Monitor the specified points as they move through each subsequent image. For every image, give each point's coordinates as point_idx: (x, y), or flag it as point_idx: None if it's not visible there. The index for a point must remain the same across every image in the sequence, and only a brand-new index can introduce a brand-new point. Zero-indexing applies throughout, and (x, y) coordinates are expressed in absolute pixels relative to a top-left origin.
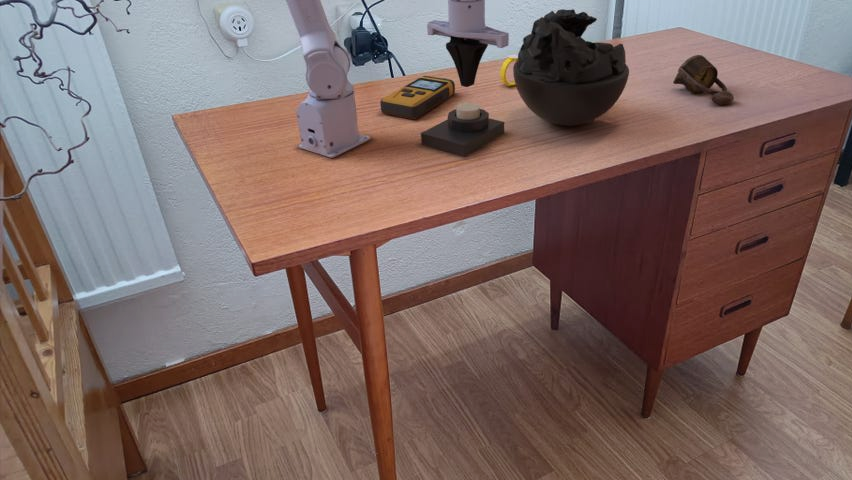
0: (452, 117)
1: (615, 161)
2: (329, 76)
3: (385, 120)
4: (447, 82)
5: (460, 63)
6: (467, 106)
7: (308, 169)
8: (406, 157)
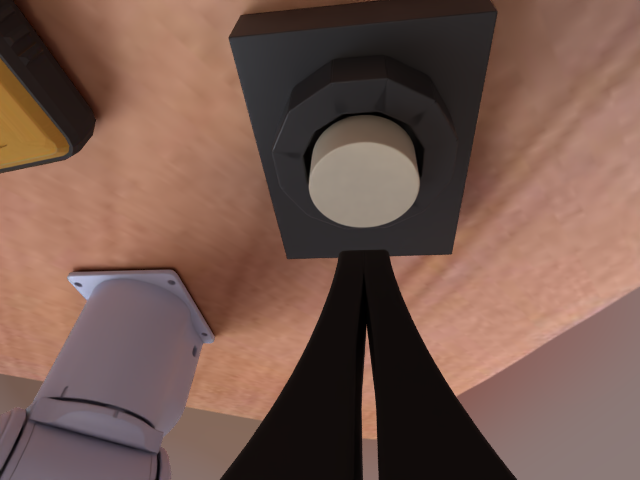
0: None
1: None
2: None
3: (46, 171)
4: None
5: (361, 426)
6: (357, 187)
7: (226, 362)
8: (317, 281)
